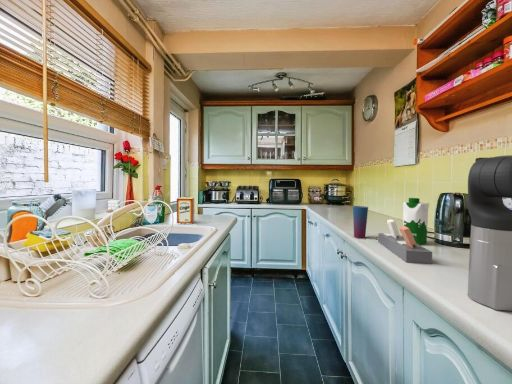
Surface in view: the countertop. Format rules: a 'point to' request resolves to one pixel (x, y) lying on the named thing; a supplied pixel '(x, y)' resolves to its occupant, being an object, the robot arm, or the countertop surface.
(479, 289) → the robot arm
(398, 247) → the power strip
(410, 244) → the rocker terracotta
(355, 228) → the cup
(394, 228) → the rocker offwhite
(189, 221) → the baking soda box
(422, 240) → the milk carton
